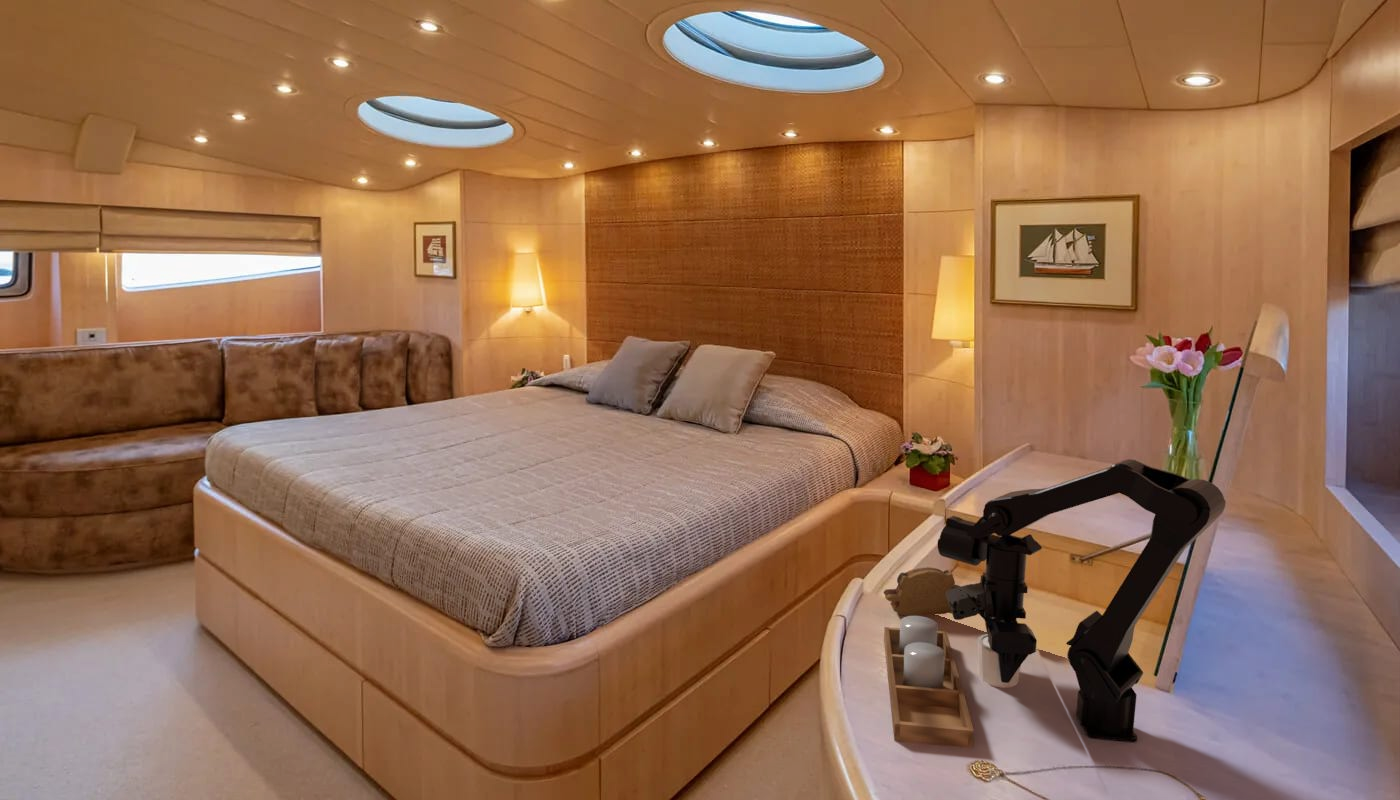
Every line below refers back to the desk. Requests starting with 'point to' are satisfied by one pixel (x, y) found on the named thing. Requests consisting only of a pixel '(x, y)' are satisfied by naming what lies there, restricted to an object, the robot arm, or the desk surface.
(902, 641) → the pale grey cylinder
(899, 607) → the wooden carving
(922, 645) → the white rounded cylinder
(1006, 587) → the robot arm
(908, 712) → the rack
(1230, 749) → the desk surface
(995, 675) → the shot glass
